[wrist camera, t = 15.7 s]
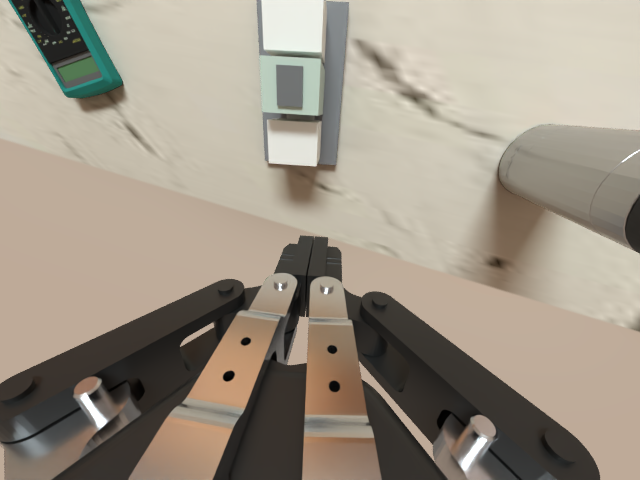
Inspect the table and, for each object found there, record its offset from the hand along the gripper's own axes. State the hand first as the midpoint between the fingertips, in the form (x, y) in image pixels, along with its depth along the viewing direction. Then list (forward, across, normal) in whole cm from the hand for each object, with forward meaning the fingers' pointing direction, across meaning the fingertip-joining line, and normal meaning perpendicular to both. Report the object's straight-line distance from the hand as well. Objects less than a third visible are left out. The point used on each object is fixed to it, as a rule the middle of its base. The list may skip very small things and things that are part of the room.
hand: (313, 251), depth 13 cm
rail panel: (+25, +4, -8) cm, 27 cm away
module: (+23, +4, -8) cm, 25 cm away
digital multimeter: (+26, +33, -14) cm, 44 cm away
